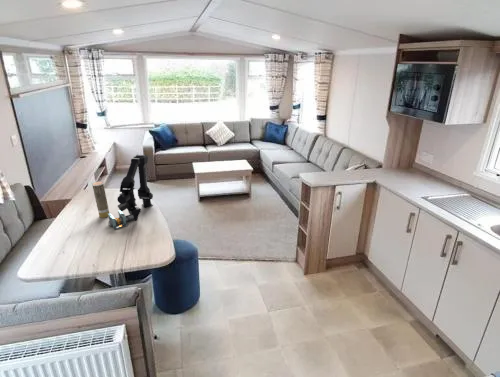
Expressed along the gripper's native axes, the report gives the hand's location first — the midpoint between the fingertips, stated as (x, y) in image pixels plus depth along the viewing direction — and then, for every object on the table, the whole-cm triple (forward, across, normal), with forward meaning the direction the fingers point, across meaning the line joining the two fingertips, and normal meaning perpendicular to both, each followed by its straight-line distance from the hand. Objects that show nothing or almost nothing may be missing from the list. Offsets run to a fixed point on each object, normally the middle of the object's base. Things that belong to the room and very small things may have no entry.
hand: (133, 218), depth 215 cm
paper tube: (+1, -18, -14) cm, 23 cm away
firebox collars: (+1, 0, -10) cm, 11 cm away
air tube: (+1, 0, -7) cm, 7 cm away
